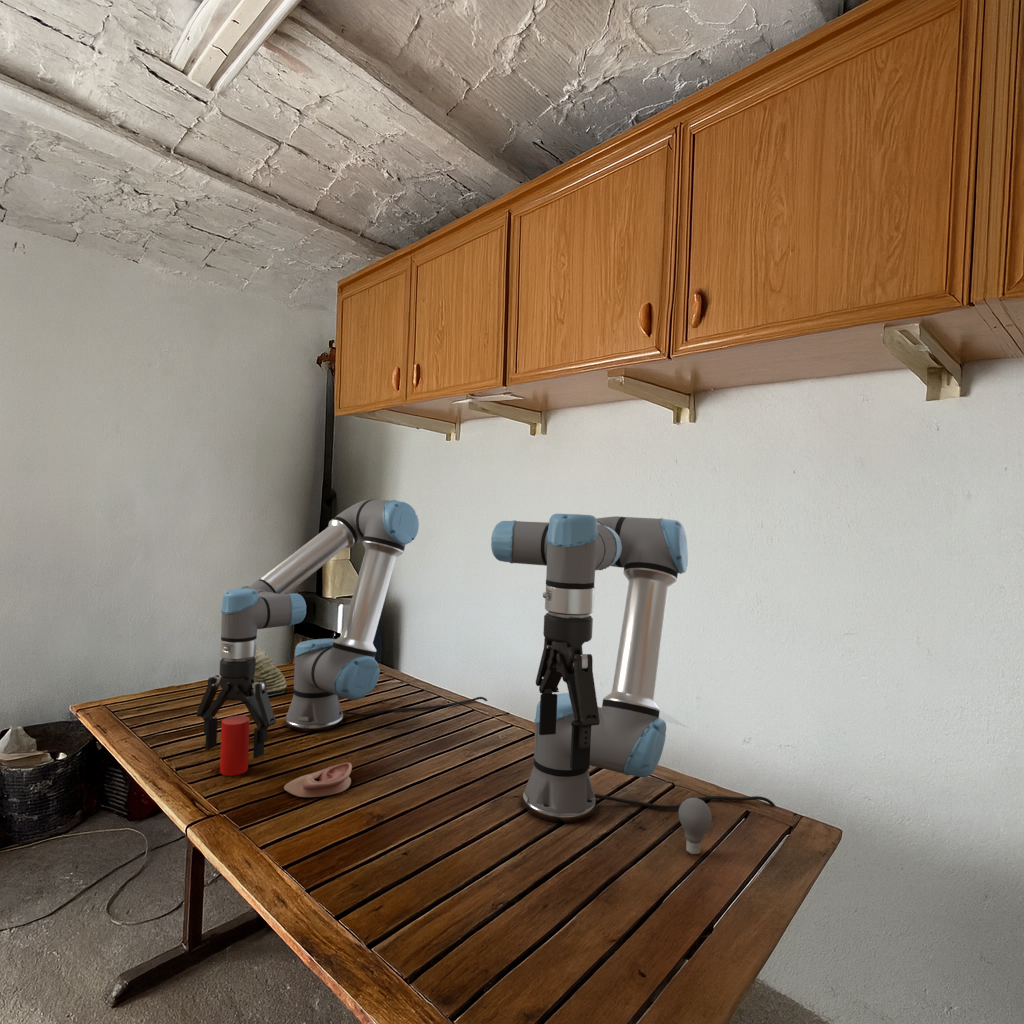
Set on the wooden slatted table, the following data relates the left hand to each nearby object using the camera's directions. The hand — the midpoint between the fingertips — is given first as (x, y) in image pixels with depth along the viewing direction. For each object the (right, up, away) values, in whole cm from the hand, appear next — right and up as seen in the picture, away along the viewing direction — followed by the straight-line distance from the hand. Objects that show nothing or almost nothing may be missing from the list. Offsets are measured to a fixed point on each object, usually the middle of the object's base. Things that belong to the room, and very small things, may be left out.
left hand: (234, 751), depth 144 cm
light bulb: (+97, -9, -26) cm, 101 cm away
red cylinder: (0, -4, 0) cm, 4 cm away
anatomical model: (+21, -5, -6) cm, 23 cm away
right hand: (+71, +18, -46) cm, 87 cm away
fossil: (-17, -2, +54) cm, 56 cm away
